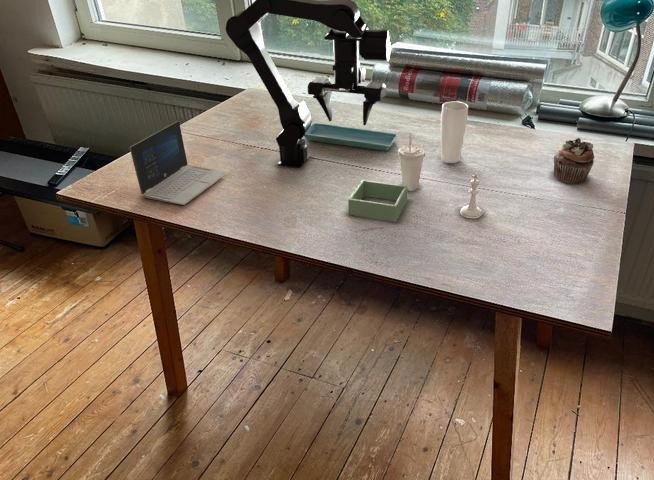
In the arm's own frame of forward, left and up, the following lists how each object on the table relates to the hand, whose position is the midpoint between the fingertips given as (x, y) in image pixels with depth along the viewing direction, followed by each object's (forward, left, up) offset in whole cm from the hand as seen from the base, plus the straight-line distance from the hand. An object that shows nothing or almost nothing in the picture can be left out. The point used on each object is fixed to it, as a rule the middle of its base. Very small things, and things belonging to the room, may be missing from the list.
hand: (347, 122), depth 144 cm
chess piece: (+35, -15, -12) cm, 40 cm away
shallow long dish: (-5, +16, -12) cm, 21 cm away
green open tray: (+14, -19, -12) cm, 26 cm away
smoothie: (+18, -7, -12) cm, 23 cm away
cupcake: (+56, +11, -12) cm, 58 cm away
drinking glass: (+25, +12, -12) cm, 30 cm away
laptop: (-35, -23, -12) cm, 44 cm away
